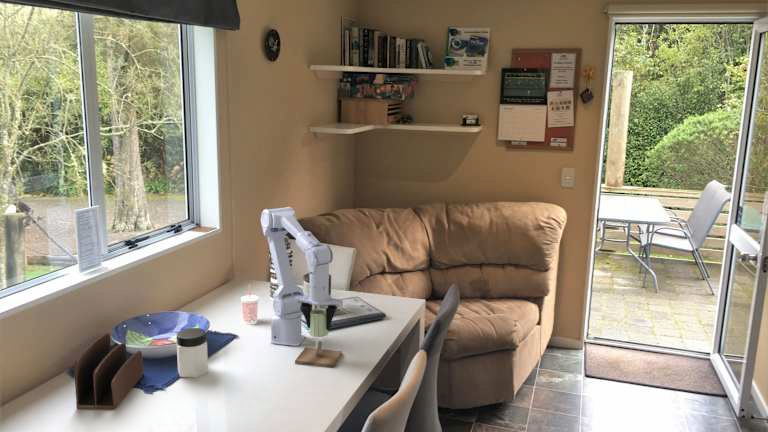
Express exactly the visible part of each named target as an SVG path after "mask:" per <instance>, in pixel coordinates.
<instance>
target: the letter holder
mask: <svg viewBox="0 0 768 432" xmlns="http://www.w3.org/2000/svg"><path fill="white" fill-rule="evenodd" d="M111 349H112V348H111V333H110V332H105V333H104V334H102V335H100V336H99V337H97V338H96V339H95V340H94V341H93V342H92V343H90V344H89V345H88V346H87V347H86V348H85V349H84V350H83V351H82V352H81V354H79V356H78V357H77V358H76V360H75V361H74V365H73V367H74V369H73V370H74V383H75V385H74V386H75V398H76V399H75V400H76V401H75V406H76V409H79V410H116V409H117V407H118V406H119V405H120V404H121V402H123V400H124V399H125V398H126V396H128V394H130V393H131V391H132V389H133V388H134V387H135V386H136V385H137V383H138V382H139V381H140V380H141V379H142V377H143V376H142V375H143V374H145V373H144V372H145V371H144V361H143V354H142V351H141V350H137V351H136V352H134V353H133V354H132V355H131V356H130V357H129V358H127V344H126V342H124V341H123V342H121V343H120V344H117V346H115V347H114V348H113V349H112V350H111ZM141 376H142V377H141ZM139 379H140V380H139ZM138 380H139V381H138Z"/></svg>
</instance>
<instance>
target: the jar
mask: <svg viewBox="0 0 768 432" xmlns="http://www.w3.org/2000/svg"><path fill="white" fill-rule="evenodd" d="M176 358H177V361H176V362H177V372H178V375H179V377H180V378H189V379H191V378H193V379H196V378H198V377H200V376H203V375H205V374H208V373H209V363H208V362H209V361H208V358H209V357H208V341H207V331H206V330H205V329H203V328H200V327H189V328H188V327H187V328H185V329H181V330H179V331H177V333H176Z"/></svg>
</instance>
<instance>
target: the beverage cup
mask: <svg viewBox="0 0 768 432" xmlns="http://www.w3.org/2000/svg"><path fill="white" fill-rule="evenodd" d="M259 300H260V299H259V296H258V295H254V294H251V284H250V283H248V295H244V296H241V297H240V301H241V306H242V307H241V309H242V319H243V324H244V325H255V324H257V323H258V309H259V308H258V306H259V305H258V304H259Z"/></svg>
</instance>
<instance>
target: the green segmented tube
mask: <svg viewBox="0 0 768 432" xmlns="http://www.w3.org/2000/svg"><path fill="white" fill-rule="evenodd" d="M326 325H327V316H326V310H325V309H314V310H311V311H310V328H309V335H310V336H312V337H313V338H323V337H327V336H328V334H329V330H327V328H326Z"/></svg>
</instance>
